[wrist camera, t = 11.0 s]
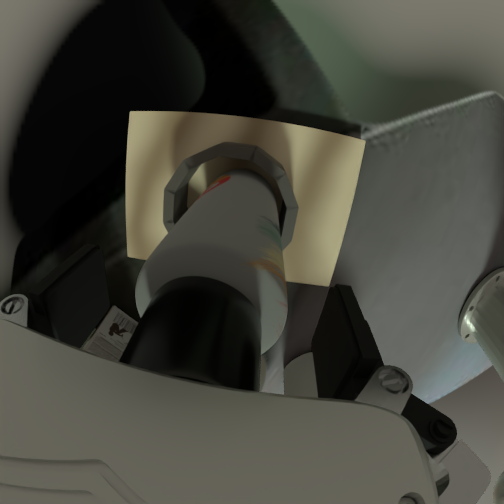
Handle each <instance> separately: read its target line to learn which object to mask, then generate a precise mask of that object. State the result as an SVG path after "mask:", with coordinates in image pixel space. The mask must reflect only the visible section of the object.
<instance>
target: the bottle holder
mask: <svg viewBox="0 0 504 504" xmlns="http://www.w3.org/2000/svg"><path fill="white" fill-rule="evenodd" d="M364 147H365V141H364V140H361V139H357V138H353V137H349V136H345V135H341V134H337V133H333V132H329V131H324V130H319V129H315V128H310V127H305V126H300V125H294V124H289V123H283V122H277V121H270V120H264V119H257V118H249V117H241V116H232V115H221V114H210V113H195V112H173V111H172V112H171V111H131V112H130V117H129V129H128V143H127V161H126V233H127V252H128V257H133V258H138V259H144V260H147V259H148V258H149V256H150V255H151V254H152V252H153V251H154V250H155V248H156V247H157V246H158V245H159V243H160V242H161V241H162V240H163V238H164V237H165V236H166V235H167V234H168V232H169V231H170V230H171V229H172V228H173V227H174V225H175V224H176V223H177V222H178V221H179V220H180V218H181V217H182V216H183V215H184V214H185V213H186V212H187V210H188V209H189V208H190V207H191V206H192V205H193V204H194V202H195V201H196V200H197V199H198V198H199V197H200V196H201V195H202V194H203V192H204V191H205V190H206V189H207V188H208V187H209V186H210V185H211V184H212V183H213V182H214V181H215V180H216V179H217V178H218V177H219V176H221V175H222V174H224V173H226V172H228V171H231V170H236V169H246V170H251V171H254V172H256V173H258V174H260V175H261V176H262V177H264V178H265V179H266V180H267V181H268V183H269V184H270V186H271V187H272V189H273V192H274V195H275V199H276V205H277V212H278V220H279V228H280V236H281V244H282V252H283V260H284V269H285V278H286V281H289V282H297V283H304V284H312V285H320V286H328V287H329V284H330V281H331V278H332V275H333V271H334V268H335V265H336V261H337V258H338V254H339V251H340V247H341V244H342V240H343V237H344V233H345V229H346V225H347V222H348V218H349V214H350V210H351V206H352V202H353V198H354V193H355V189H356V185H357V180H358V176H359V171H360V166H361V162H362V157H363V152H364Z"/></svg>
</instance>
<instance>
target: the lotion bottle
mask: <svg viewBox="0 0 504 504" xmlns="http://www.w3.org/2000/svg"><path fill="white" fill-rule="evenodd" d="M135 298H136V305H137V309H138V312H139V315H140V317H141V319H140V321H139V323H138V325H137V326H136V328H135V330H134V332H133V334H132V336H131V338H130V340H129V342H128V344H127V346H126V348H125V350H124V352H123V354H122V355H121V357H120V359H119V361H118V362H121V363H125V364H128V365H131V366H135V367H138V368H142V369H146V370H149V371H153V372H157V373H161V374H165V375H169V376H174V377H178V378H182V379H187V380H192V381H197V382H202V383H207V384H212V385H217V386H223V387H229V388H235V389H242V390H249V391H257V392H259V386H260V364H261V354H263V353H264V352H265V351H267V350H268V349H269V348H270V347H271V346H272V345H273V344H274V343H275V342H276V341H277V340H278V338H279V337H280V335H281V333H282V331H283V329H284V326H285V322H286V318H287V311H288V301H287V287H286V278H285V269H284V260H283V252H282V244H281V236H280V228H279V220H278V212H277V205H276V199H275V195H274V192H273V189H272V187H271V186H270V184H269V183H268V181H267V180H266V179H265V178H264V177H262V176H261V175H260V174H258V173H256V172H254V171H251V170H246V169H236V170H231V171H228V172H226V173H224V174H222V175H221V176H219V177H218V178H217V179H216V180H215V181H214V182H213V183H212V184H211V185H210V186H209V187H208V188H207V189H206V190H205V191H204V192H203V194H202V195H201V196H200V197H199V198H198V199H197V200H196V201H195V202H194V204H193V205H192V206H191V207H190V208H189V209H188V210H187V212H186V213H185V214H184V215H183V216H182V217H181V218H180V220H179V221H178V222H177V223H176V224H175V225H174V227H173V228H172V229H171V230H170V231H169V232H168V234H167V235H166V236H165V237H164V238H163V240H162V241H161V242H160V243H159V245H158V246H157V247H156V248H155V250H154V251H153V252H152V254H151V255H150V256H149V258H148V259H147V261H146V262H145V264H144V265H143V267H142V269H141V271H140V274H139V276H138V279H137V283H136V289H135Z"/></svg>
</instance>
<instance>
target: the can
mask: <svg viewBox="0 0 504 504" xmlns="http://www.w3.org/2000/svg"><path fill="white" fill-rule="evenodd" d="M283 375H284V395H292V396H305V397H317V398H318V392H317V384H316V376H315V368H314V361H313V353H312V352H310V353H306V354H303V355H301V356H299V357H297V358H296V359H294V360H292V361H291V362H290V363H289V364H288V365H287V366H286V367H285V370H284V372H283Z"/></svg>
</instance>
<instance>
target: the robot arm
mask: <svg viewBox="0 0 504 504" xmlns="http://www.w3.org/2000/svg"><path fill="white" fill-rule="evenodd" d="M29 294H30V298H31V299H30V300H29V301H28V299H27V298H26V297H25V296H24V295H20V294H16V295H11V296H9V297H7V298H5V299H4V300H2V301H1V303H0V504H476V503H477V501H478V500H479V499H480V497H481V496H482V495H483V493H484V491H485V490H486V489H487V487H488V485H489V483H490V479H491V475H490V471H489V469H488V468H487V466H486V465H485V464H484V463H483V462H482V461H481V460H480V458H479V457H478V456H477V455H476V454H475V453H474V452H473V451H472V450H471V449H470V448H469V447H468V446H467V444H466V443H465V442H463V440H462V439H461V440H460V441H458V440H457V439H456V436H457V430H456V427H455V424H454V423H453V421H452V420H451V419H450V418H449V417H447V416H446V415H444V414H442V413H441V412H439V411H438V410H436V409H435V408H433V407H431V406H430V405H428V404H427V403H425V402H424V401H422V400H420V399H419V398H417V397H416V396H414V395H413V394H411V392H412V389H413V383H412V380H411V378H410V376H409V375H408V374H407V373H406V372H405V371H404V370H402V369H401V368H398V367H396V366H391V365H385V366H384V363H383V361H382V358H381V355H380V353H379V350H378V347H377V345H376V342H375V340H374V337H373V335H372V332H371V330H370V327H369V325H368V323H367V321H366V320H365V319H364V317H363V314H362V312H361V309H360V307H359V304H358V302H357V300H356V297H355V295H354V293H353V290H352V288H351V286H347V285H340V284H336V285H335V287H331V288H330V289H329V292H328V295H327V298H326V301H325V304H324V307H323V310H322V313H321V316H320V319H319V322H318V325H317V328H316V330H315V333H314V336H313V339H312V353H313V361H314V368H315V376H316V384H317V392H318V398H317V397H305V396H292V395H282V394H274V393H265V392H257V391H249V390H242V389H235V388H229V387H223V386H217V385H212V384H207V383H202V382H197V381H192V380H187V379H182V378H178V377H174V376H169V375H165V374H161V373H157V372H153V371H149V370H146V369H142V368H138V367H135V366H131V365H128V364H125V363H121V362H118V361H115V360H112V359H109V358H105V357H102V356H99V355H96V354H93V353H91V352H88V351H85V350H82V349H80V347H81V346H82V345H83V343H84V342H85V341H86V339H87V338H88V336H89V335H90V334H91V332H92V331H93V330H94V328H95V327H96V326H97V324H98V323H99V322H100V320H101V319H102V317H103V316H104V315H105V314H106V312H107V311H108V309H109V306H110V300H109V294H108V287H107V280H106V273H105V265H104V256H103V251H102V250H101V249H100V247H99V246H98V245H92V244H85V245H84V246H83V247H81V248H80V249H79V250H77V251H76V252H75V253H74V254H72V255H71V256H70V257H69V258H67V259H66V260H65V261H64V262H62V263H61V264H60V265H59V266H58V267H56V268H55V269H54V270H53V271H52V272H50V273H49V274H48V275H47V276H46V277H45V278H43V279H42V280H41V281H40V282H39V283H38V284H36V285H35V286H34V287H33V288H32V289H31V290H30V291H29ZM458 331H459V334H460V336H461V337H462V339H463V340H464V341H465V342H467V343H477V342H478V343H479V345H480V346H481V348H482V349H483V351H484V352H485V354H486V355H487V357H488V358H489V360H490V361H491V363H492V364H493V366H494V367H495V369H496V370H497V372H498V374H499V375H500V377H501V378H502V380H503V382H504V268H499V269H497V270H495V271H493V272H492V273H490V274H489V275H488V276H486V277H485V278H484V279H483V280H482V281H481V282H480V283H479V284H478V285H477V287H476V288H475V289H474V290H473V292H472V293H471V295H470V296H469V298H468V299H467V301H466V303H465V305H464V307H463V309H462V312H461V315H460V318H459V323H458ZM493 503H494V504H504V472H503V473H502V474H501V475H500V476H499V478H498V480H497V481H496V483H495V486H494V491H493Z"/></svg>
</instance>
